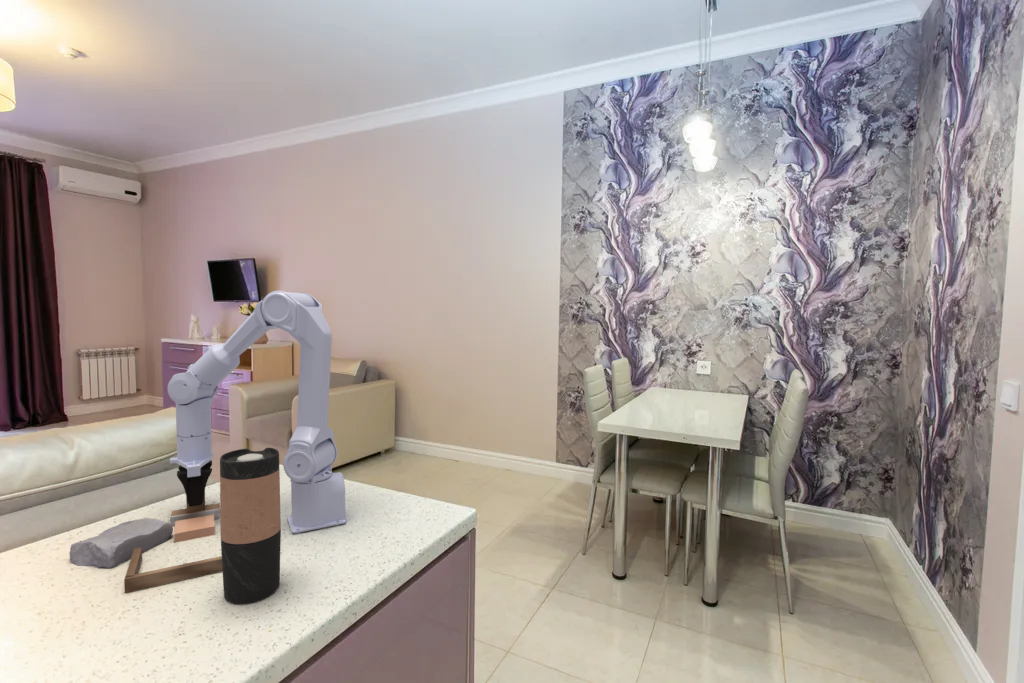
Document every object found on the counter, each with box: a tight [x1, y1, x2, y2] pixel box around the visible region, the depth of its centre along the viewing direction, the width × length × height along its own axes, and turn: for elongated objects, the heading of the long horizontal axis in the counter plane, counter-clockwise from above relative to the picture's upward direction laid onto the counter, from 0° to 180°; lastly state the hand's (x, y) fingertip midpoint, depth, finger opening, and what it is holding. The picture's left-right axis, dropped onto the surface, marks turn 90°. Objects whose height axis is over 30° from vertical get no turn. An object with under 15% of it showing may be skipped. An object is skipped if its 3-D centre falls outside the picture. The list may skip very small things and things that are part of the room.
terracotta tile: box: [173, 514, 216, 543], centre depth 90 cm, size 6×6×2 cm
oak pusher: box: [169, 492, 220, 528], centre depth 95 cm, size 8×5×6 cm, turn 121°
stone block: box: [68, 517, 174, 569], centre depth 83 cm, size 12×5×10 cm
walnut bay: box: [123, 547, 223, 594], centre depth 79 cm, size 16×10×2 cm, turn 121°
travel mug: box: [219, 447, 282, 605], centre depth 71 cm, size 8×8×20 cm
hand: (196, 502), depth 96 cm, fingers closed on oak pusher, 2 cm apart
